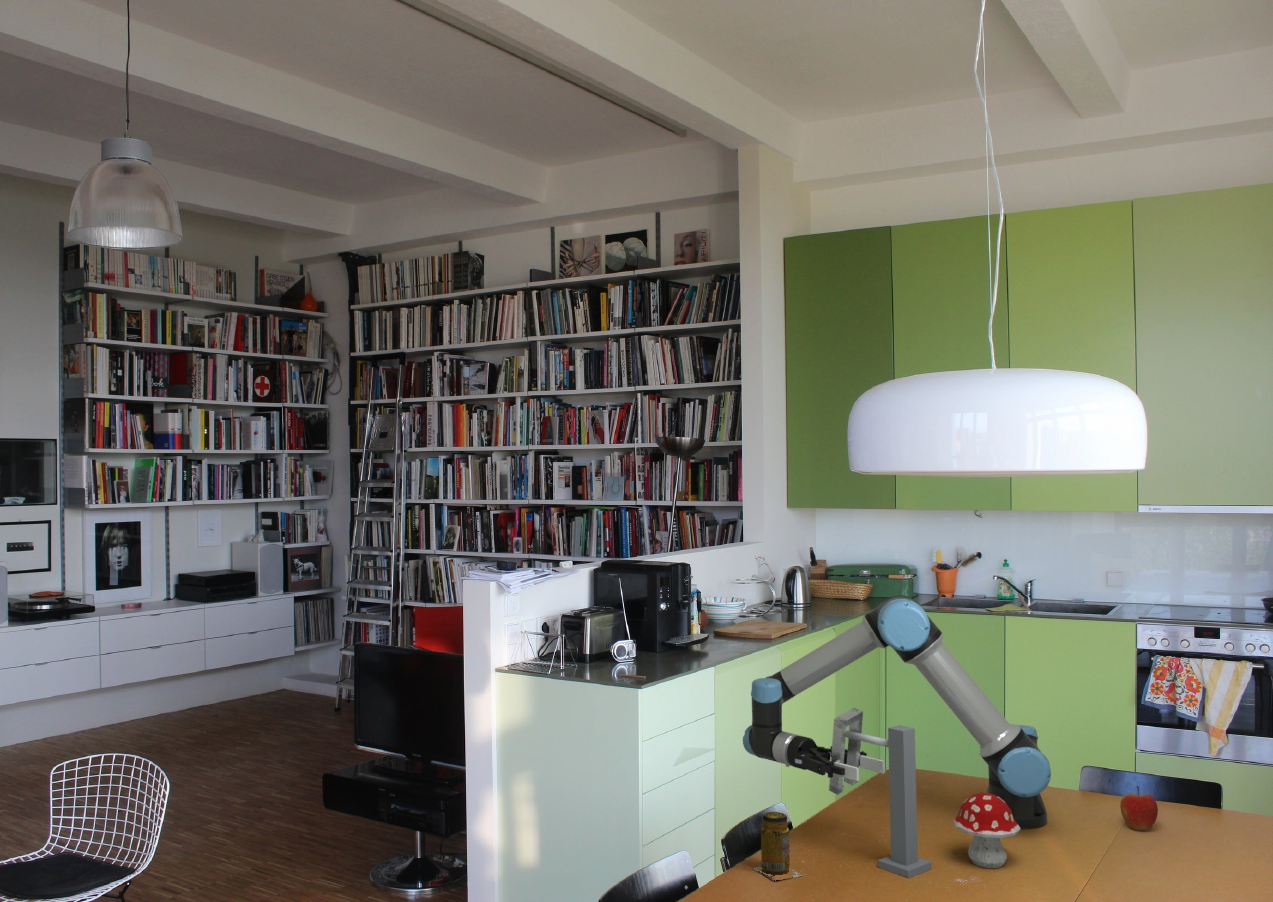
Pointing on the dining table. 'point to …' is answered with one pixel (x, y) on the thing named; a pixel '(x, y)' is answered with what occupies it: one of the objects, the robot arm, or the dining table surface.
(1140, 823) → the apple
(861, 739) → the hook stand
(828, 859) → the dining table surface
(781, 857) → the condiment
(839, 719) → the c link
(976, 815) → the decorative mushroom
